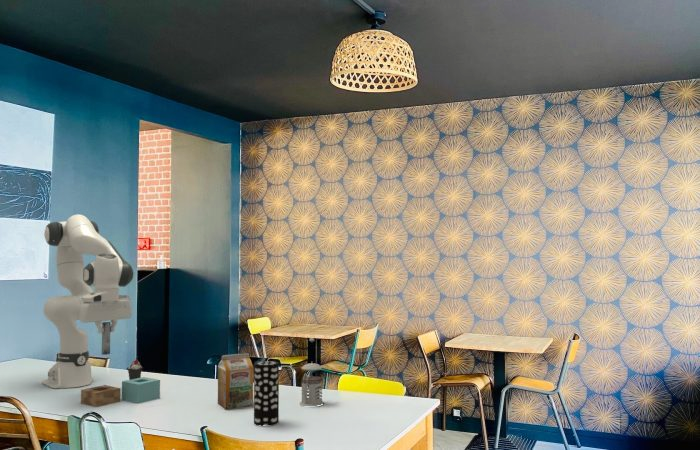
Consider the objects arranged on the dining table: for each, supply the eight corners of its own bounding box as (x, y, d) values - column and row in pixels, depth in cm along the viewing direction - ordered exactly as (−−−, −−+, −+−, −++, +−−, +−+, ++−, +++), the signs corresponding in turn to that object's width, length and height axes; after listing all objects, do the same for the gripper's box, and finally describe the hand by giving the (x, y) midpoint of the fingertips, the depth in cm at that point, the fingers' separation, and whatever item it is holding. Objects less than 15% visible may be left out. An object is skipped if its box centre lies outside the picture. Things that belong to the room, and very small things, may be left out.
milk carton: (225, 410, 223) (225, 357, 224) (217, 403, 233) (218, 353, 233) (253, 406, 228) (253, 355, 229) (244, 400, 237) (244, 351, 238)
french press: (328, 401, 235) (328, 336, 236) (317, 409, 224) (317, 340, 225) (305, 399, 238) (305, 335, 239) (292, 407, 227) (292, 339, 228)
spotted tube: (254, 419, 210) (255, 361, 211) (278, 418, 211) (279, 360, 212) (252, 426, 202) (253, 365, 203) (278, 425, 203) (278, 365, 203)
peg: (100, 354, 231) (100, 322, 232) (107, 353, 234) (107, 321, 234) (104, 354, 230) (105, 322, 230) (111, 353, 232) (112, 322, 233)
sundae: (137, 394, 247) (138, 357, 248) (122, 394, 248) (123, 357, 249) (146, 391, 253) (146, 354, 254) (131, 390, 255) (132, 354, 255)
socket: (80, 405, 229) (81, 389, 230) (104, 400, 237) (105, 384, 238) (96, 409, 224) (96, 393, 224) (120, 404, 232) (120, 388, 232)
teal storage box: (121, 402, 235) (122, 381, 235) (143, 397, 243) (144, 377, 243) (137, 406, 229) (138, 384, 229) (159, 400, 237) (160, 379, 237)
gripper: (125, 294, 243) (125, 329, 242) (77, 297, 226) (76, 334, 226) (135, 294, 239) (134, 330, 239) (86, 298, 223) (86, 336, 222)
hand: (106, 332), depth 232 cm, fingers closed on peg, 3 cm apart
